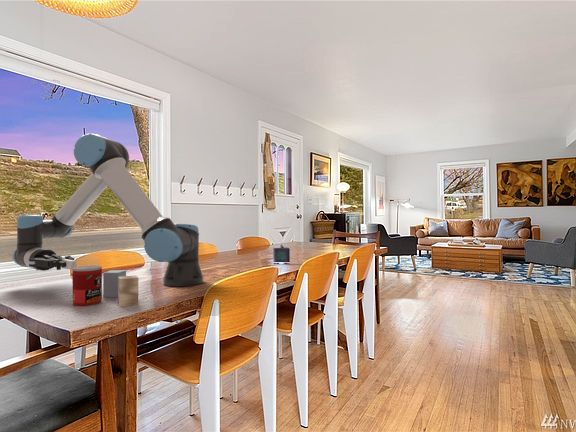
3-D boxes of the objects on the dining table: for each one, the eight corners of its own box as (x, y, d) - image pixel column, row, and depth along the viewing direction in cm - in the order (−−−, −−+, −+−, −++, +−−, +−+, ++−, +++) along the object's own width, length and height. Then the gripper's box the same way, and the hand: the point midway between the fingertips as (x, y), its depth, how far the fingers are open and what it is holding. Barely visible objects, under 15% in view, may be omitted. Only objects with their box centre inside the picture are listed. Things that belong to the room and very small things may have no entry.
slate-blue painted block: (126, 293, 117) (126, 270, 117) (118, 297, 112) (118, 272, 112) (111, 293, 117) (111, 270, 117) (103, 296, 112) (103, 272, 112)
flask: (272, 264, 189) (272, 244, 189) (273, 263, 192) (273, 244, 192) (289, 264, 188) (289, 244, 188) (290, 263, 191) (290, 244, 191)
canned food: (89, 307, 100) (89, 269, 100) (65, 305, 101) (65, 268, 101) (107, 300, 107) (107, 265, 107) (85, 299, 109) (85, 264, 109)
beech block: (135, 300, 107) (135, 275, 107) (138, 304, 103) (138, 277, 103) (118, 302, 105) (118, 276, 105) (120, 306, 100) (120, 279, 100)
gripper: (61, 267, 127) (94, 274, 114) (18, 272, 116) (50, 280, 103) (61, 247, 127) (94, 251, 114) (19, 249, 116) (50, 255, 103)
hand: (73, 265), depth 108 cm, fingers closed
